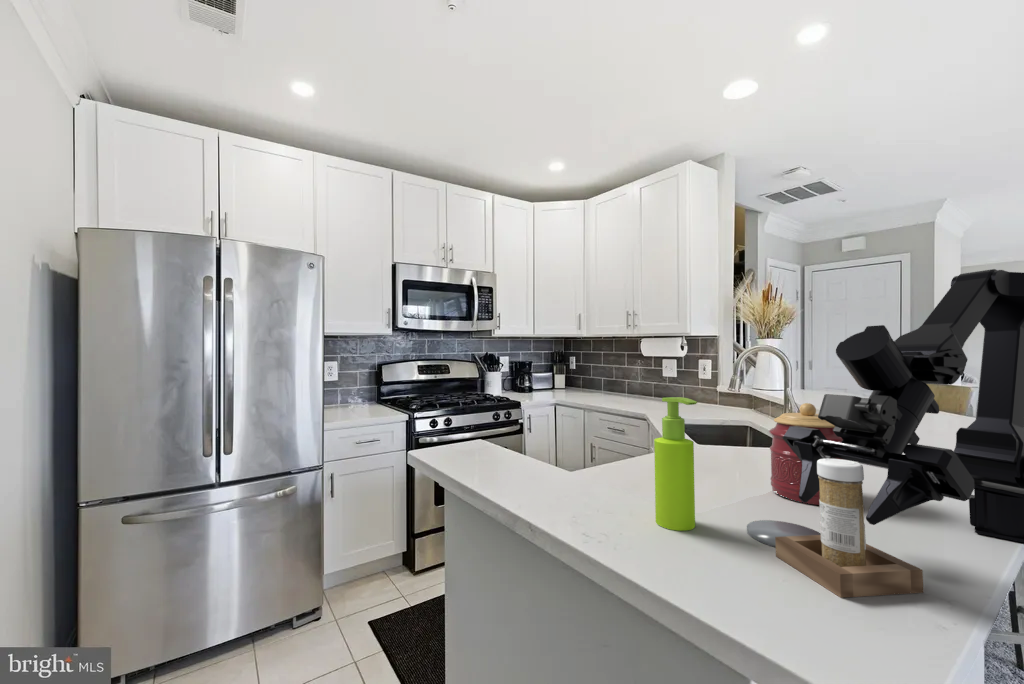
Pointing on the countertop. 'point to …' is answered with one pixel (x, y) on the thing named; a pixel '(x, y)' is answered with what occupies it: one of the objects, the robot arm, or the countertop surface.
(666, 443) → the soap dispenser
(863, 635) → the countertop surface
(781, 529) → the slate coaster
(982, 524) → the robot arm
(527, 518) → the countertop surface
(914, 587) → the walnut pocket block
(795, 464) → the canister
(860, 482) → the sprinkles bottle
